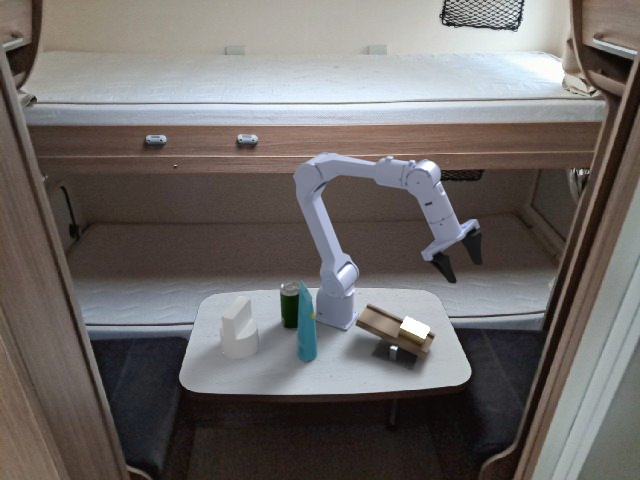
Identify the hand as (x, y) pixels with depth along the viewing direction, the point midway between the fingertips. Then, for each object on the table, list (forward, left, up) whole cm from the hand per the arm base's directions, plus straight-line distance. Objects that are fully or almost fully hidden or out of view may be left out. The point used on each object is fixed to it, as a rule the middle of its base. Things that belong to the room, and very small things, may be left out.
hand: (465, 273), depth 101 cm
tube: (-31, -15, -24) cm, 42 cm away
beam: (-14, -2, -21) cm, 25 cm away
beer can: (-40, -7, -24) cm, 47 cm away
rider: (-9, -2, -20) cm, 22 cm away
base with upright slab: (-47, -20, -24) cm, 56 cm away
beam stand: (-12, -2, -24) cm, 27 cm away
